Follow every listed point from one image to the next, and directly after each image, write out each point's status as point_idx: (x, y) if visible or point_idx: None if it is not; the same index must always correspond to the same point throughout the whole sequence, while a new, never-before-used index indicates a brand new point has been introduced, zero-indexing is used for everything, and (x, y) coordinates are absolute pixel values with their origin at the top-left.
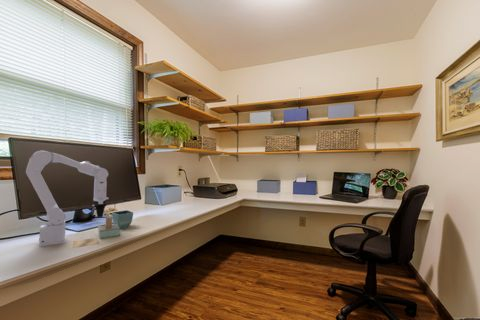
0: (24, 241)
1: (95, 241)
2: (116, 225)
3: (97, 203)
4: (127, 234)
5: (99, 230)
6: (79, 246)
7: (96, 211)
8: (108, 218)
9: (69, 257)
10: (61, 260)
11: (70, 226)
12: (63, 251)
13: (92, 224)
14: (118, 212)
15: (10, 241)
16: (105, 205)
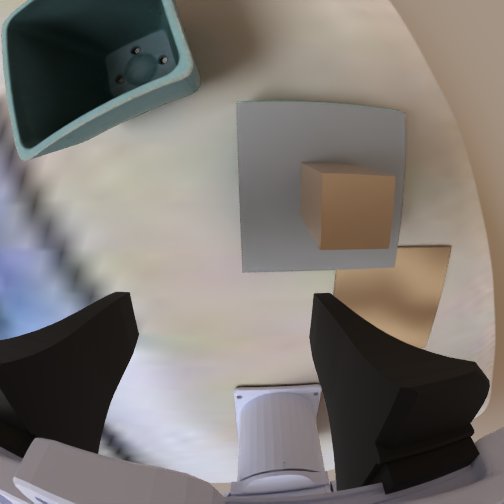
0: (205, 463)
1: (410, 264)
2: (308, 116)
3: (77, 441)
4: (364, 60)
5: (390, 265)
6: (426, 327)
7: (127, 363)
8: (391, 219)
9: (489, 337)
10: (491, 351)
11: None
12: None
13: (10, 267)
14: (19, 94)
15: None
16: (472, 370)
